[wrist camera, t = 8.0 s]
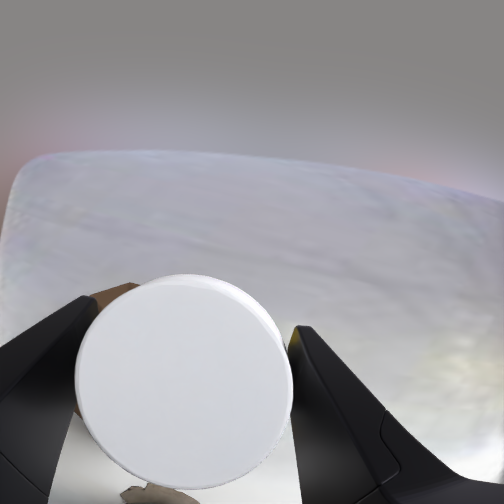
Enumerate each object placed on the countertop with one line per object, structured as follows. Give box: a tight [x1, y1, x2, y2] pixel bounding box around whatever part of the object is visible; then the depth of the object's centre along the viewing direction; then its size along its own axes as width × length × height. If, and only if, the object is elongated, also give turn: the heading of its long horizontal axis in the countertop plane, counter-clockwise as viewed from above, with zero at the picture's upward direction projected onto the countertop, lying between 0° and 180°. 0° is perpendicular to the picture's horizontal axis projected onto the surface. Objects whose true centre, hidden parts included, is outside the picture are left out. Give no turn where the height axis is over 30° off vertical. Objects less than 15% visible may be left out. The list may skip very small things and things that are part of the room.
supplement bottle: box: [75, 274, 293, 490], centre depth 10 cm, size 5×5×10 cm
